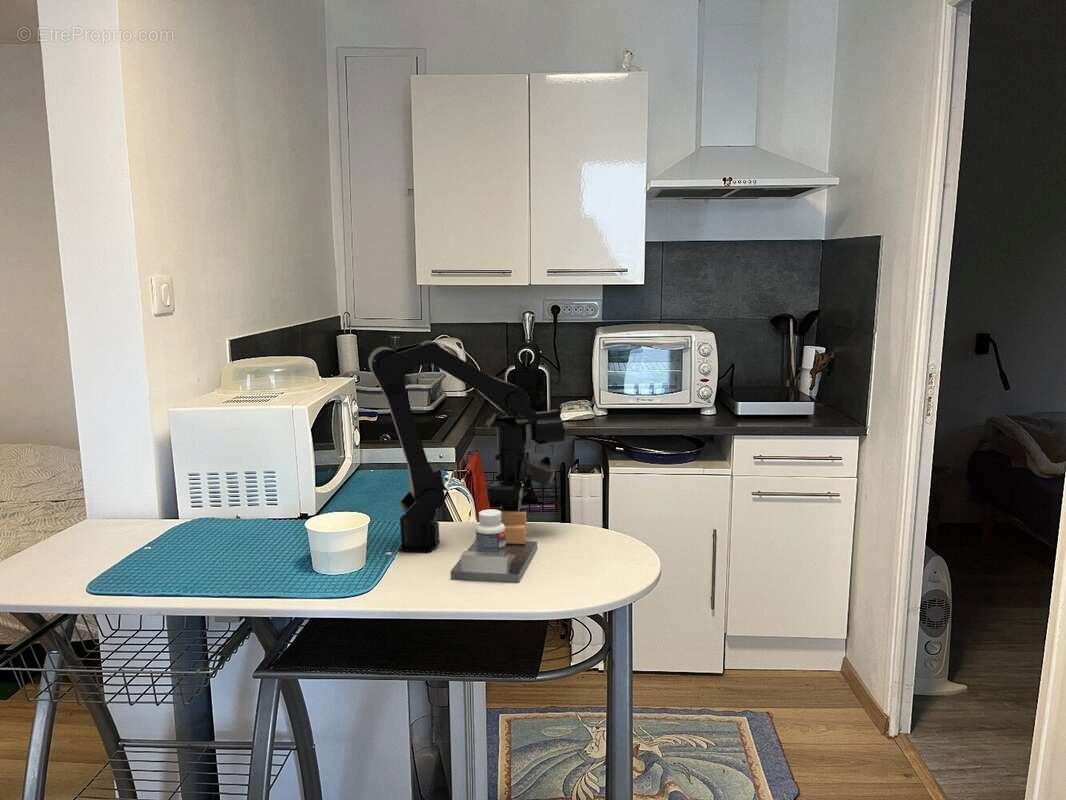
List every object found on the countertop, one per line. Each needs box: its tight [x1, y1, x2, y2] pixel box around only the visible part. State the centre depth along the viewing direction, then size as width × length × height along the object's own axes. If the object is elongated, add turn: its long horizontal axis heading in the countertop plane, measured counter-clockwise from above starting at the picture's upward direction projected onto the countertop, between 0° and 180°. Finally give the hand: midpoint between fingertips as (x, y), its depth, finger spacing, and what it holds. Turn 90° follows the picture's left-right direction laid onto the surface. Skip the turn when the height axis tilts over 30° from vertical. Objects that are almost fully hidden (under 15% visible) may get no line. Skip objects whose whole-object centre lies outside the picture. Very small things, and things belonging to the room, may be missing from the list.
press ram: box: [500, 510, 528, 544], centre depth 153 cm, size 8×8×4 cm
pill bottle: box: [475, 508, 506, 553], centre depth 140 cm, size 5×5×9 cm
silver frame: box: [450, 539, 538, 584], centre depth 144 cm, size 12×17×4 cm
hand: (514, 523), depth 159 cm, fingers closed
